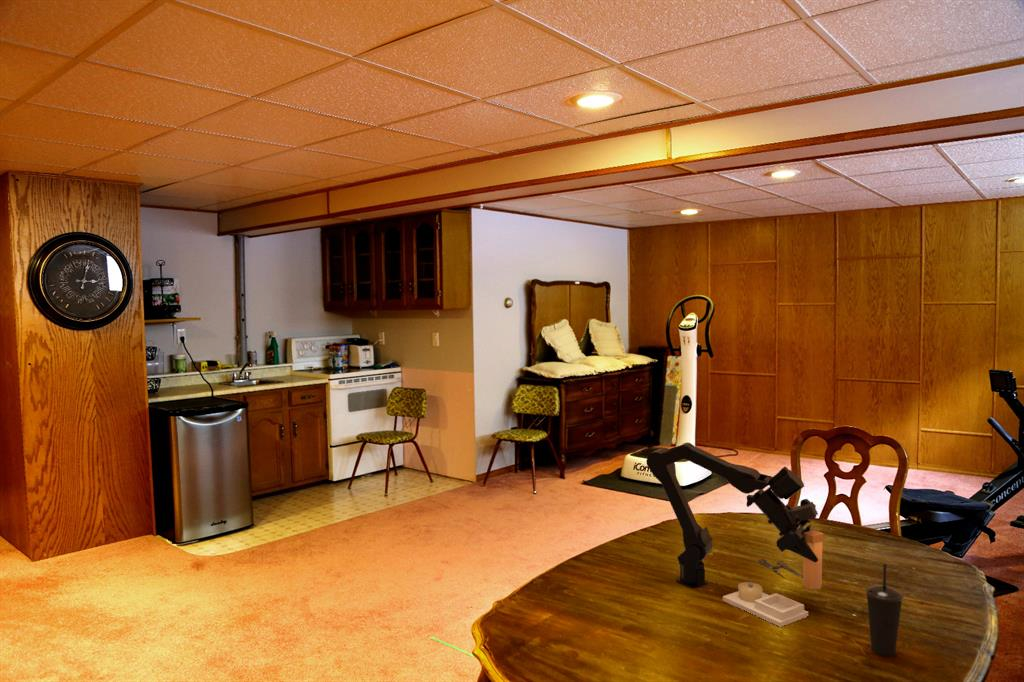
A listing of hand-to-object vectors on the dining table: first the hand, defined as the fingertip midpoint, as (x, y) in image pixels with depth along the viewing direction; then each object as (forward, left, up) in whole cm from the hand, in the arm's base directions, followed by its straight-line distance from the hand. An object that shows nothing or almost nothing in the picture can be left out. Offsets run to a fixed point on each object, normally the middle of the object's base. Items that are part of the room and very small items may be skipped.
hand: (818, 558), depth 180 cm
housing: (-8, -11, -13) cm, 19 cm away
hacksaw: (-18, +15, -14) cm, 27 cm away
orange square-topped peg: (-1, -1, -8) cm, 8 cm away
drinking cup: (+21, -7, -14) cm, 26 cm away
